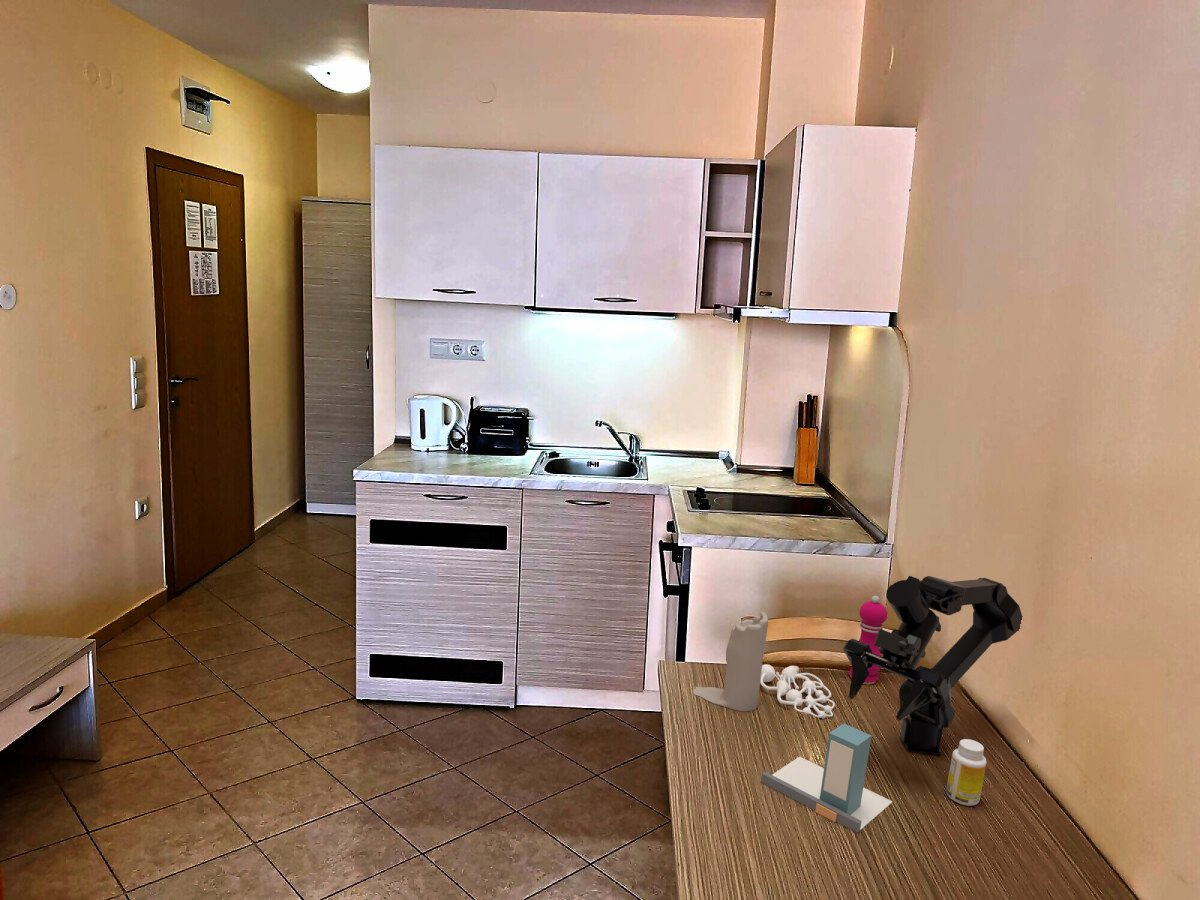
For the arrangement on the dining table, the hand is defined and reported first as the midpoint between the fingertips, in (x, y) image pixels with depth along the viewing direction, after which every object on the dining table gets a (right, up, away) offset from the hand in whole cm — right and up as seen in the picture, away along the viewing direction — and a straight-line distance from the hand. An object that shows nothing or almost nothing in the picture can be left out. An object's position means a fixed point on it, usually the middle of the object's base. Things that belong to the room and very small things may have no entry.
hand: (873, 708), depth 153 cm
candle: (-22, -7, +29) cm, 37 cm away
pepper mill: (+12, -7, +44) cm, 46 cm away
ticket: (-12, -15, -12) cm, 23 cm away
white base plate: (-10, -14, -5) cm, 18 cm away
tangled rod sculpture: (-6, -8, +33) cm, 34 cm away
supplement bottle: (+15, -16, -1) cm, 22 cm away
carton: (-8, -14, -9) cm, 18 cm away
